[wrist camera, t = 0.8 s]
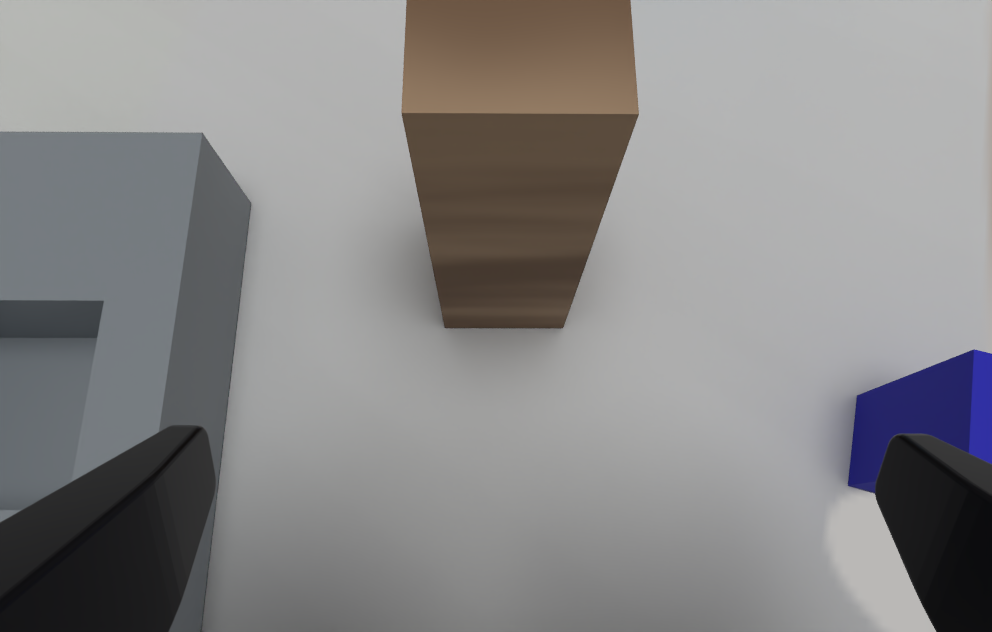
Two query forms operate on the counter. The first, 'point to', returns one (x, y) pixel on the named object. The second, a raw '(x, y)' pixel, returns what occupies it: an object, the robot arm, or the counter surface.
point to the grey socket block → (114, 306)
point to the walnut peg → (515, 147)
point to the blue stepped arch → (925, 413)
